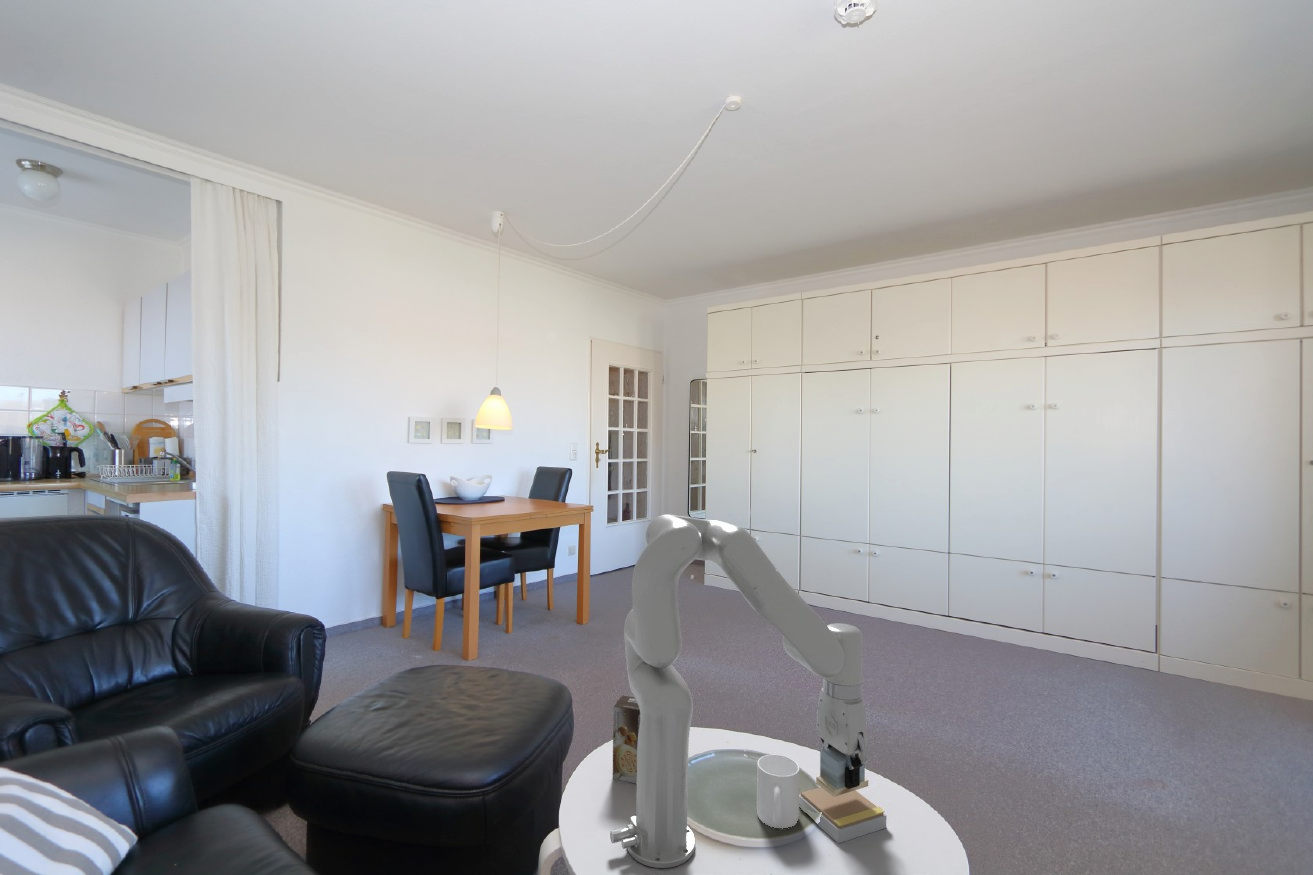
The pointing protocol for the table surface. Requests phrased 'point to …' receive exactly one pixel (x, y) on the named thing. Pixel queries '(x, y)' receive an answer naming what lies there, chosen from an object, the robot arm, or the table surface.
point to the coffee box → (625, 739)
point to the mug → (778, 791)
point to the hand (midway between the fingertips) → (841, 777)
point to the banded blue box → (836, 772)
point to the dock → (844, 813)
